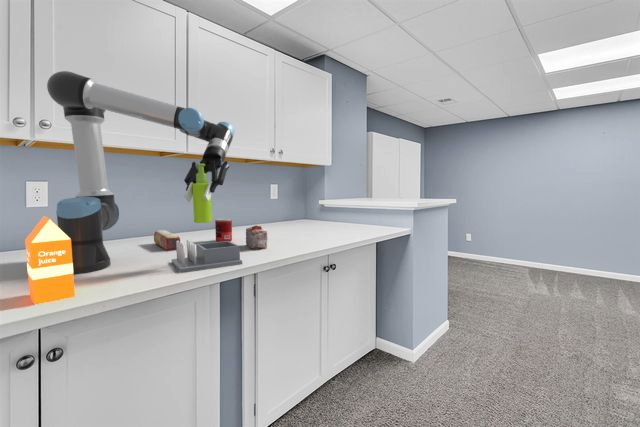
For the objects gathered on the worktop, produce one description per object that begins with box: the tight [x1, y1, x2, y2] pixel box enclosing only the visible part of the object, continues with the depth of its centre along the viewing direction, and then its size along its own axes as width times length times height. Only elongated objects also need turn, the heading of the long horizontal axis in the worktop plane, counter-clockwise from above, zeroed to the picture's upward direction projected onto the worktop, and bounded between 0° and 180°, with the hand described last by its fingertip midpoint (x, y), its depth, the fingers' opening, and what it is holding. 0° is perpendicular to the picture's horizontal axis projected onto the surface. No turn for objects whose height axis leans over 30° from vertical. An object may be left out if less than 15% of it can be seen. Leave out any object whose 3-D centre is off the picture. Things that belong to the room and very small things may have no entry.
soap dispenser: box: [192, 164, 213, 224], centre depth 109 cm, size 6×7×20 cm
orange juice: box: [24, 215, 76, 305], centre depth 79 cm, size 8×9×20 cm
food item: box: [245, 224, 268, 250], centre depth 142 cm, size 14×8×10 cm, turn 30°
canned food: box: [214, 217, 233, 242], centre depth 157 cm, size 8×8×11 cm
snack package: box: [153, 229, 181, 252], centre depth 143 cm, size 21×7×7 cm, turn 39°
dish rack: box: [171, 239, 243, 274], centre depth 113 cm, size 20×16×8 cm
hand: (196, 198), depth 106 cm, fingers closed on soap dispenser, 6 cm apart
